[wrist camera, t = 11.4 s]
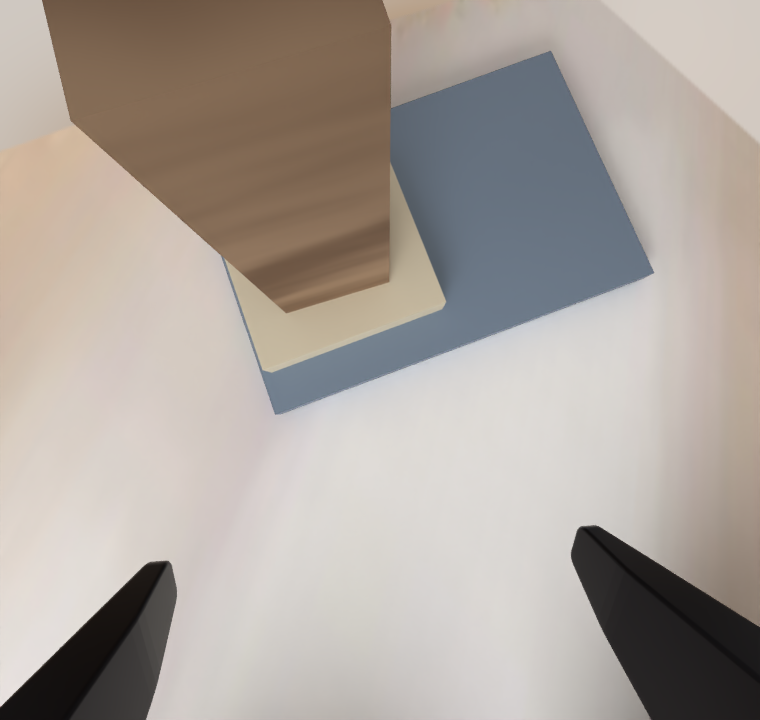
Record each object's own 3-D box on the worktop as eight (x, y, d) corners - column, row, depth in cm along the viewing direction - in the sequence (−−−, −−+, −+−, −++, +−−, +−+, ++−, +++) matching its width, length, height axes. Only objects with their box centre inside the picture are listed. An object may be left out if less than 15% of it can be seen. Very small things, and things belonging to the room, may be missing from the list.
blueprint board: (543, 66, 23) (562, 25, 20) (641, 278, 21) (674, 262, 19) (203, 189, 22) (180, 162, 20) (280, 414, 21) (266, 415, 19)
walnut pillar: (389, 282, 19) (391, 25, 6) (286, 313, 19) (70, 120, 6) (358, 185, 20) (301, -237, 7) (258, 215, 20) (6, -152, 7)
